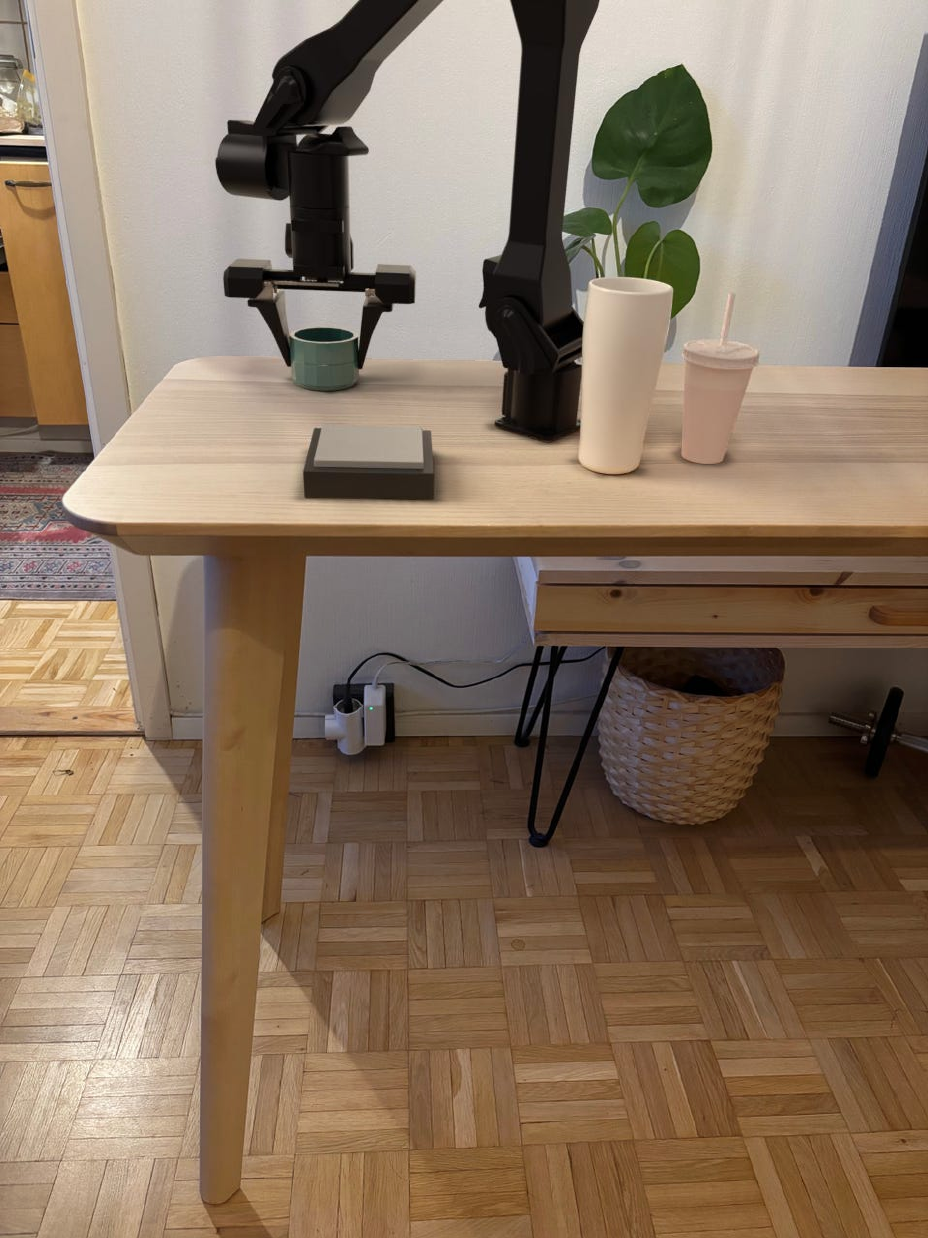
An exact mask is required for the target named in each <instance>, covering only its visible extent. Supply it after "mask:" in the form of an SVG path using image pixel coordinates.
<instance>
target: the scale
mask: <svg viewBox="0 0 928 1238" xmlns="http://www.w3.org/2000/svg"><path fill="white" fill-rule="evenodd" d="M432 439H433V437H432V430H427V429H426V430H425V429H424V430H423V426H419V425H418V426H415V425H414V426H412V425H369V424H368V425H367V424H365V425H364V424H325V423H324V424H322V425H321V427H314V428H313V430H312V435H311V438H310V442H309V446H308V451H307V455H306V459H305V463H304V466H303V470H302V481H303V497H304V498H318V499H319V498H323V499H373V500H374V499H377V500H378V499H382V500H384V499H385V500H434V497H435V496H434V494H435V467H434V466H435V465H434V452H433V440H432Z"/></svg>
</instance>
